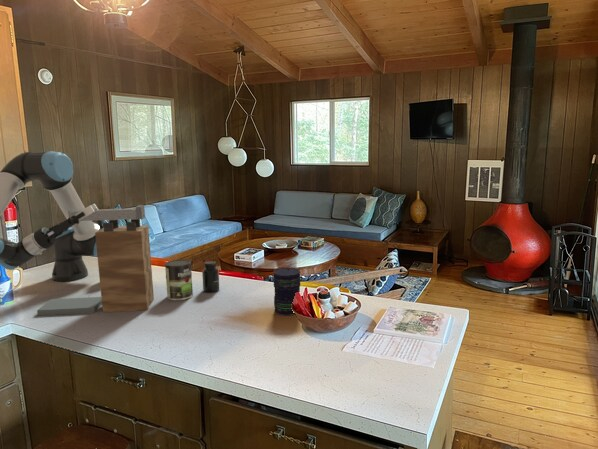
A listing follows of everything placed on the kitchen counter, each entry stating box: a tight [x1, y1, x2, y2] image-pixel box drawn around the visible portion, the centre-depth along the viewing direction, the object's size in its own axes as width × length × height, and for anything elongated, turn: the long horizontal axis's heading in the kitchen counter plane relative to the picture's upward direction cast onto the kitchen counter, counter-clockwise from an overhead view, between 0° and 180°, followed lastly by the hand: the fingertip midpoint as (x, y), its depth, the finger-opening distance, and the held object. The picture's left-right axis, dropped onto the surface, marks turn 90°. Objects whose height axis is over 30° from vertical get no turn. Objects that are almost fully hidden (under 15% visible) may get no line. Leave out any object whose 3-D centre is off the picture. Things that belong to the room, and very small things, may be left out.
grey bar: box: [68, 204, 146, 222], centre depth 170 cm, size 5×26×4 cm, turn 96°
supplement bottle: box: [201, 260, 220, 293], centre depth 193 cm, size 7×7×12 cm
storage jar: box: [272, 267, 301, 317], centre depth 168 cm, size 10×10×15 cm
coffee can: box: [164, 259, 194, 301], centre depth 185 cm, size 10×10×14 cm
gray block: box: [36, 296, 102, 316], centre depth 175 cm, size 12×20×2 cm, turn 96°
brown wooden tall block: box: [95, 219, 155, 313], centre depth 174 cm, size 12×16×33 cm
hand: (94, 207), depth 169 cm, fingers closed on grey bar, 3 cm apart
